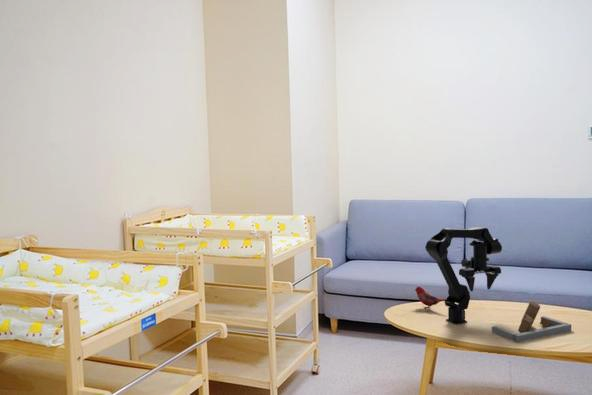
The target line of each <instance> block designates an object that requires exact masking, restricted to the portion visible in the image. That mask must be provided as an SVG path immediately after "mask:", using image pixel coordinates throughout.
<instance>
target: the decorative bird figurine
mask: <svg viewBox="0 0 592 395" xmlns="http://www.w3.org/2000/svg"><path fill="white" fill-rule="evenodd" d="M414 291H416V292H415V293H416V295H417V297H418V300H419V302H421V303H422V304H423V305H425V306H423V308H424V309H428V310H431V307H432V306H435V305H437V304H439V303H441V302H445V300H446V299H447V298H446V299H445V298H443V299H442V298H438V297H436V296H435V295H433V294H431V293H429V292H427V291H426V290H425V289H424V288H423V287H421V286H417V287H416V288H415V289H414Z"/></svg>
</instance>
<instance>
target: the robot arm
mask: <svg viewBox="0 0 592 395" xmlns="http://www.w3.org/2000/svg"><path fill="white" fill-rule="evenodd" d="M453 238H454V239H471V242H470V243H469V246H471V247H473V248H472V251H473V256H471V258H470V260H468V259H466V258H465V259H461V263H460V264H461V267H462V268H460V269H459V270H458V275H459V276H461V277H462V278H464V279H465V280H466V282H467V285H466V284H463V283H462V284H460V281H459V279H458V278H457V276H456V275H457V274H456V273H455V271H454V268H453V266H452V264H451V262H450V260H449V258H448V255H449V250H448V248H449V247H450V246H451V243H452V240H453ZM442 240H443V241H442ZM424 248H425V251H426V252H427V254H428V255H429V257H431V258H432V259H433V260H434V261H435V262H436V264H437V266H438V268H439V270H440V272H441V274H442V276H443V279H444V280H445V282H446V284H447V287H448V289H447V290H448V291H447V294H448V296H447V297H446V300H445V301H444V305H445V307H447V309H448V310H447V312H448V313H447V316H448V317H447V318H446V319H445V321H446V322H448V323H452V324H453V325H460V324H464V323H467V322H468V321H467V320H466V310H467V309H468V307H469V304H470V300H471V292H472V293H473V292H474V287H475V280H476V277H475V274H485V276H486V288H487V290H491V288H492V286H493V284H494V282H495V280H496V278H497V277H498V276H499V275H500V274H502V268H501V267H500V266H497V265H494V264H491V265H488V261H489V262H490V258H489V257H488V255H494V254H500V253H501V252H502V250H503V246H502V243H501V242H500V241H499V238H495V237H493V236H492V234H491V233H490V231H489V229H488V228H487V227H481V226H472V227H469V228H442V229H441V230H440V231H439V232H438V233H436V234H434V235H433V236H432V237H431V238H430V239H429V240H428V241H427V242H426V243H425V247H424ZM468 288H469V289H468Z"/></svg>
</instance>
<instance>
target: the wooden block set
mask: <svg viewBox="0 0 592 395" xmlns="http://www.w3.org/2000/svg"><path fill="white" fill-rule="evenodd" d="M540 309H541V305H540V304H539V303H537V302H535V301H532V300H531V301H529V303H528V305H527V308H526V309H525V312H524V314H523V316H522V319H521V320H520V324H519V326H518V327H519V328H518V329H517V331H518V333H523V332H528V331H531V328H532V326H533V324H534V322H535V320H536V318H537V315H538V313H539V312H540ZM541 317H542V316H541ZM539 324H540V325H541V326H543V327H544V328H547V327H551V326H550V321H549V320H547V319H546V318H544V317H542V320H541V319H540V322H539Z"/></svg>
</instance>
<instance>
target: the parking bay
mask: <svg viewBox="0 0 592 395" xmlns="http://www.w3.org/2000/svg"><path fill="white" fill-rule="evenodd" d="M542 317H544V318H546V319H547V320H549V321H550V326H548V327H543V328H538V329H533V330H529V331H528V332H523V333H520V332H518V333H516V332H514V331H511V330H508V329H505V328H504V327H503V328H502V327H499V326H497V325H492V326H491V333H492V334H494V335H497V336H499V337H502V338H505V339H507V340H509V341H512V342H515V343H517V344H518V343H522V342H527V341H531V340H535V339H539V338H544V337H549V336H553V335H559V334H562V333H563V334H564V333H566V332H572V324H571V323H569V322H568V323H567V322H564V321H561V320H558V319H554V318H551V317H549V316H545V315H542V316H540V321H541V320H542Z"/></svg>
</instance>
